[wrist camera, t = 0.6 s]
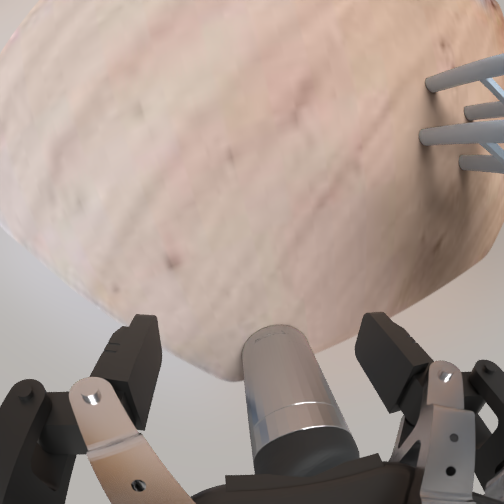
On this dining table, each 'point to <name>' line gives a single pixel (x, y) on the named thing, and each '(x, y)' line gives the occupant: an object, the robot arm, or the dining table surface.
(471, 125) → the stool
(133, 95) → the dining table surface
